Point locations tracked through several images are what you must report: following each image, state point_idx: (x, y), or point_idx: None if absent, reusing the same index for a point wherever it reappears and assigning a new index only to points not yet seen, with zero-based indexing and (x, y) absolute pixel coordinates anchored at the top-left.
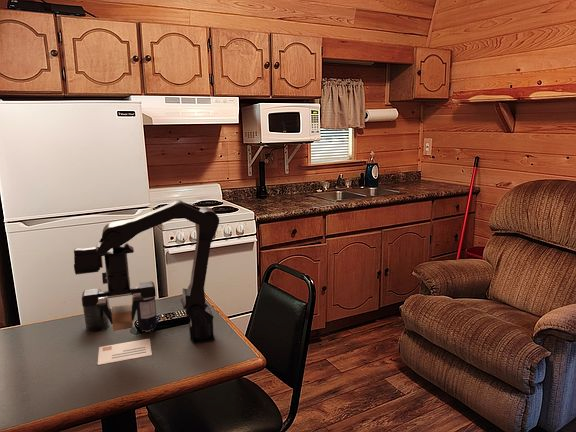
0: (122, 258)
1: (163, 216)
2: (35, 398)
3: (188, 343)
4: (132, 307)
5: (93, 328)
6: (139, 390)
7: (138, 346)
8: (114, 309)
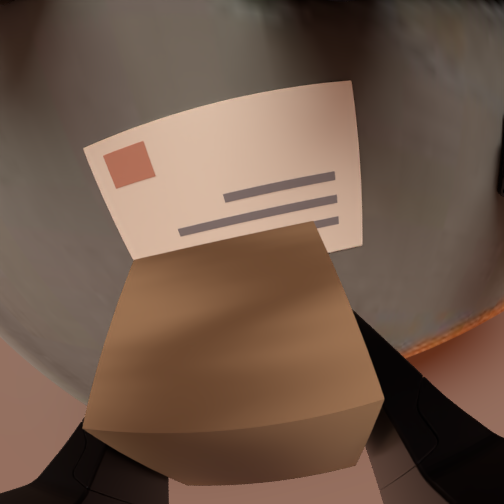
0: None
1: None
2: (84, 377)
3: (487, 179)
4: (379, 484)
5: (2, 1)
6: None
7: (298, 159)
8: (169, 465)
